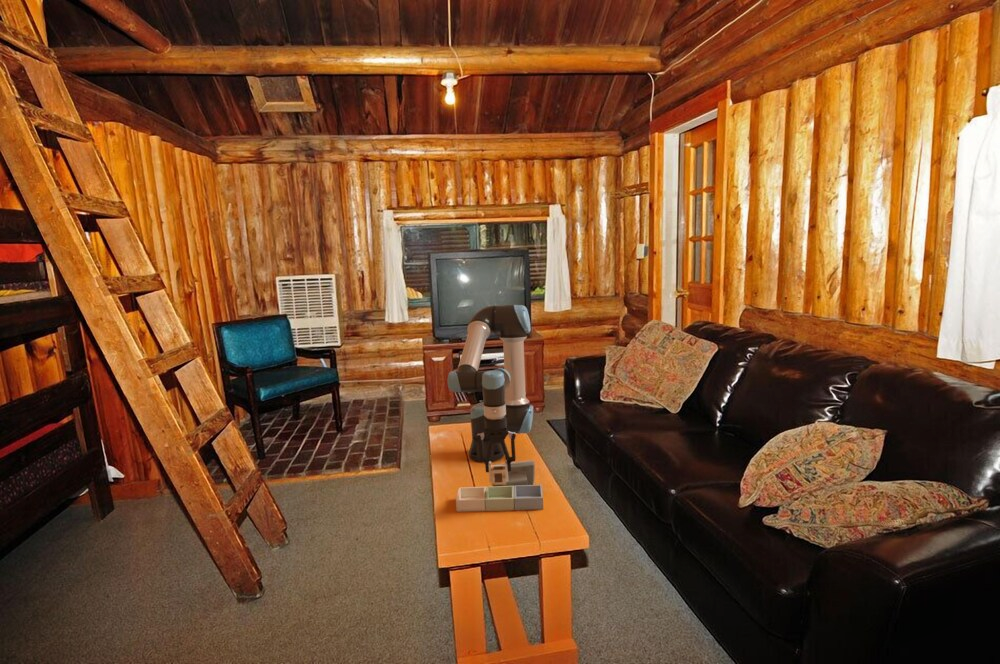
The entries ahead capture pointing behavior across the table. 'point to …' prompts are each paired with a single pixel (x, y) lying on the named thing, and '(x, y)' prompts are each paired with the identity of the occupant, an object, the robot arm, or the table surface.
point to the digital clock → (520, 473)
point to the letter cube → (498, 475)
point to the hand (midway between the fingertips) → (498, 480)
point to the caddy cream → (471, 499)
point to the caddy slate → (528, 497)
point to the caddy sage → (499, 498)
